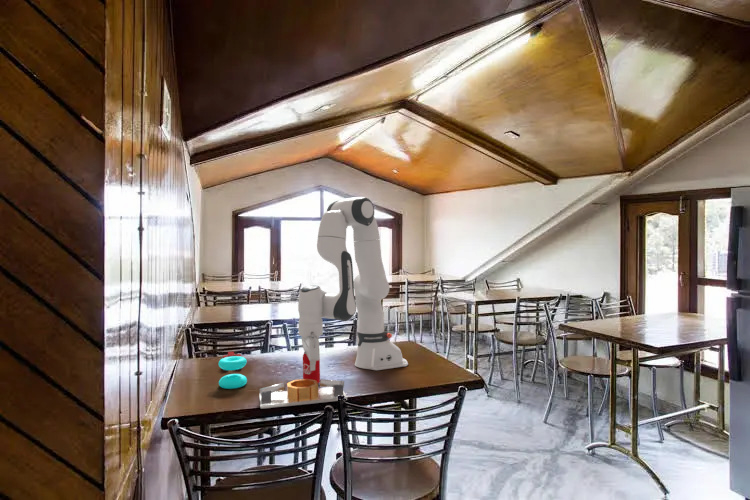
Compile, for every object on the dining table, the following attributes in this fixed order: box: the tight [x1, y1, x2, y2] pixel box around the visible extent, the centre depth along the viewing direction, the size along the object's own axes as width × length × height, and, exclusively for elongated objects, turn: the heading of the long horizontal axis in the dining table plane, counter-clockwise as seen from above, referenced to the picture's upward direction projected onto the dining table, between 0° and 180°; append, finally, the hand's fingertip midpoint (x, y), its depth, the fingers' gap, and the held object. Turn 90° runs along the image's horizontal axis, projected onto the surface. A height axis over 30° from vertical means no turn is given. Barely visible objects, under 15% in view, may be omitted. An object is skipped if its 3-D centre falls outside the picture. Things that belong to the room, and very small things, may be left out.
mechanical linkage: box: [222, 351, 243, 371], centre depth 202 cm, size 16×7×5 cm, turn 21°
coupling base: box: [258, 378, 348, 410], centre depth 159 cm, size 28×12×6 cm, turn 105°
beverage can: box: [302, 351, 321, 384], centre depth 174 cm, size 6×6×12 cm
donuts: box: [217, 355, 248, 390], centre depth 174 cm, size 10×10×10 cm
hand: (311, 367), depth 174 cm, fingers open, 7 cm apart
